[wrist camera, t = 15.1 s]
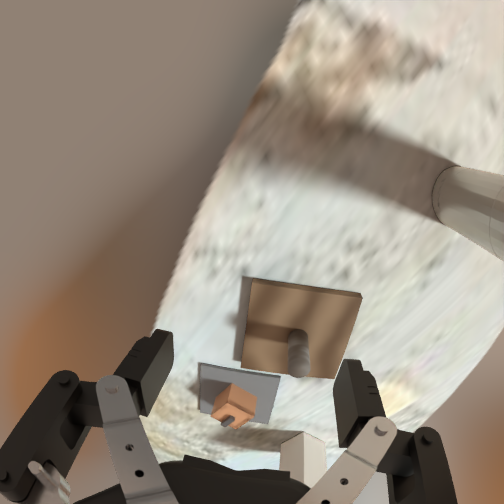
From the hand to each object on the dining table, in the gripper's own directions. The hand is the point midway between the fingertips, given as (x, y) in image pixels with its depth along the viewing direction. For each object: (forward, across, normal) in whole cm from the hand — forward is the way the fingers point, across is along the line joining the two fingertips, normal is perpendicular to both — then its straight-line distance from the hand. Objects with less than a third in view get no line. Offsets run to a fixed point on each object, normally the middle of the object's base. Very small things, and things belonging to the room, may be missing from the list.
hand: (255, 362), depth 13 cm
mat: (+28, +2, +34) cm, 44 cm away
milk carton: (+28, -14, +48) cm, 57 cm away
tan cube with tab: (+28, +2, +34) cm, 44 cm away
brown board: (+28, -6, +17) cm, 33 cm away
